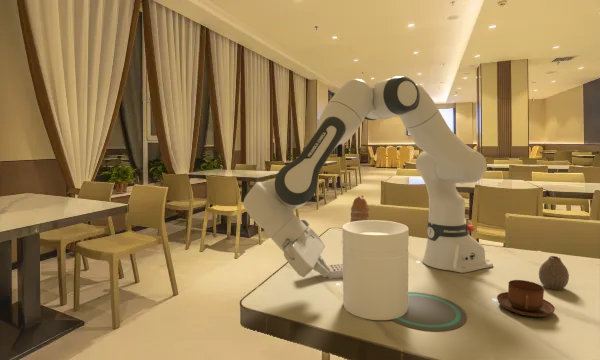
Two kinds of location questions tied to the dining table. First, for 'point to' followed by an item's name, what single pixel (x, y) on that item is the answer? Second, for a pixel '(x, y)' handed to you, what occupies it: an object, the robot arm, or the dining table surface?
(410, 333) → the dining table surface
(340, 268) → the mobile phone
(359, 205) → the brown ribbed oblong piece
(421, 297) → the charging mat
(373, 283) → the canister
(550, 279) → the vase
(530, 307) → the cup and saucer
